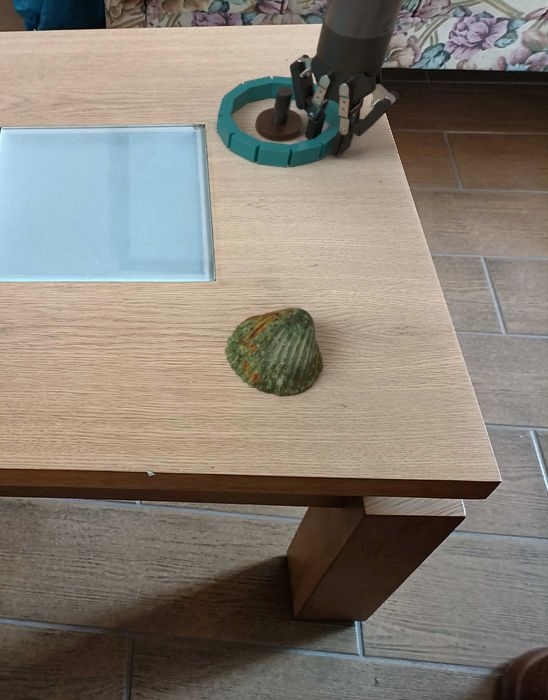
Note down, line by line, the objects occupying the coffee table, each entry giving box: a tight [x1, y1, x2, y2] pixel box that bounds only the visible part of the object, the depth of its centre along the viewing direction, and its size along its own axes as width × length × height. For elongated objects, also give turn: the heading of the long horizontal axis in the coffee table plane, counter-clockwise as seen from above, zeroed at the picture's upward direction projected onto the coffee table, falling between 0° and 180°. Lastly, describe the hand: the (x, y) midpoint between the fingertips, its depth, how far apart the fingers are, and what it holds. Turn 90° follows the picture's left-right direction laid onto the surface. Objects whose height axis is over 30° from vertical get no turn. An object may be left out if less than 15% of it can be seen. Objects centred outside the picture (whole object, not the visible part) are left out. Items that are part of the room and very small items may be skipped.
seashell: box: [224, 307, 324, 397], centre depth 68 cm, size 10×4×10 cm
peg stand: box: [255, 87, 303, 142], centre depth 88 cm, size 6×6×6 cm
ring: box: [216, 75, 340, 168], centre depth 90 cm, size 16×16×2 cm
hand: (325, 146), depth 87 cm, fingers open, 3 cm apart
